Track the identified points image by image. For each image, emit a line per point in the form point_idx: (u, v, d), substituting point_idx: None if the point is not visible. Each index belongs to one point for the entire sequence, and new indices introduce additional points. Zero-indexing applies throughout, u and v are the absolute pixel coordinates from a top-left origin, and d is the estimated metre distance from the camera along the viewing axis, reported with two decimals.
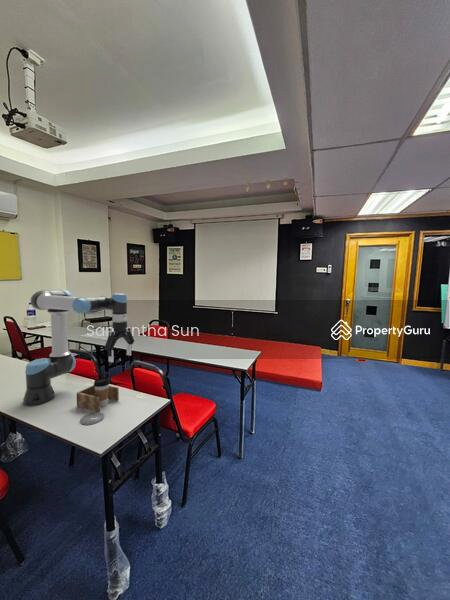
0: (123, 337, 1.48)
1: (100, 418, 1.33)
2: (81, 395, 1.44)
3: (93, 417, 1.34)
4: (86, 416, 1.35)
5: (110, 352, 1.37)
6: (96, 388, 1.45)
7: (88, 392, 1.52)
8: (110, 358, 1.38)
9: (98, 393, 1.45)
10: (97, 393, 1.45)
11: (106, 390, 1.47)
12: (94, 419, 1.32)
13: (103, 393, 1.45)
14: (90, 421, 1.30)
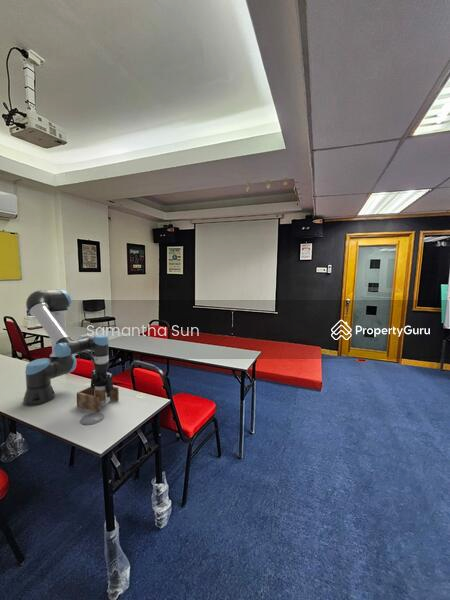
0: None
1: (100, 418, 1.33)
2: (81, 395, 1.44)
3: (93, 417, 1.34)
4: (86, 416, 1.35)
5: (94, 390, 1.49)
6: (96, 388, 1.45)
7: (88, 392, 1.52)
8: None
9: (98, 393, 1.45)
10: (97, 393, 1.45)
11: None
12: (94, 419, 1.32)
13: (103, 393, 1.45)
14: (90, 421, 1.30)
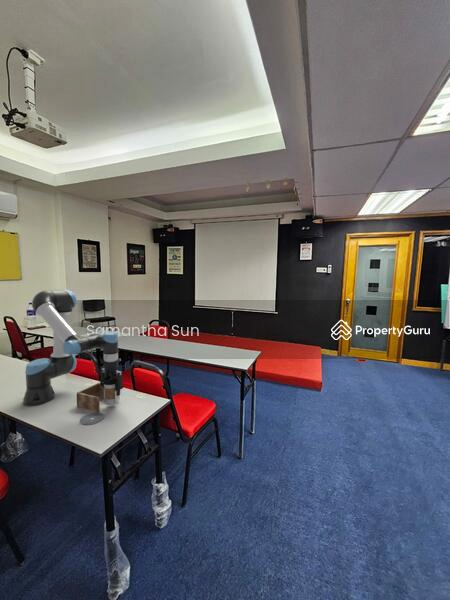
0: (115, 378, 1.45)
1: (100, 418, 1.33)
2: (81, 395, 1.44)
3: (93, 417, 1.34)
4: (86, 416, 1.35)
5: (103, 388, 1.47)
6: (106, 386, 1.42)
7: (88, 392, 1.52)
8: None
9: (107, 391, 1.42)
10: (107, 391, 1.42)
11: None
12: (94, 419, 1.32)
13: (113, 391, 1.43)
14: (90, 421, 1.30)
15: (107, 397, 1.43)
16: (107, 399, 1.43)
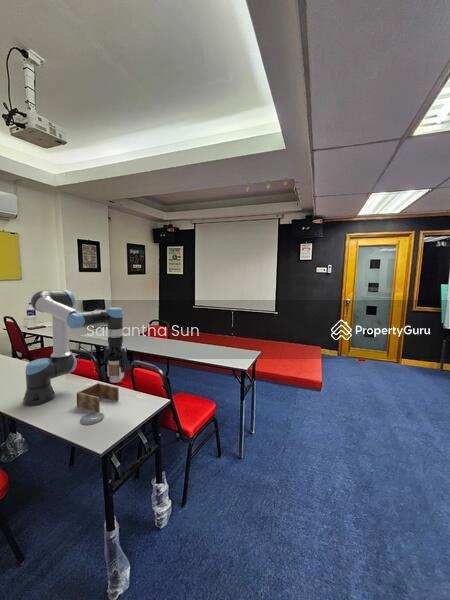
0: None
1: (100, 418, 1.33)
2: (81, 395, 1.44)
3: (93, 417, 1.34)
4: (86, 416, 1.35)
5: (107, 365, 1.43)
6: (110, 363, 1.38)
7: (88, 392, 1.52)
8: None
9: (112, 368, 1.38)
10: (111, 368, 1.38)
11: None
12: (94, 419, 1.32)
13: (117, 368, 1.39)
14: (90, 421, 1.30)
15: (111, 374, 1.39)
16: (111, 376, 1.39)
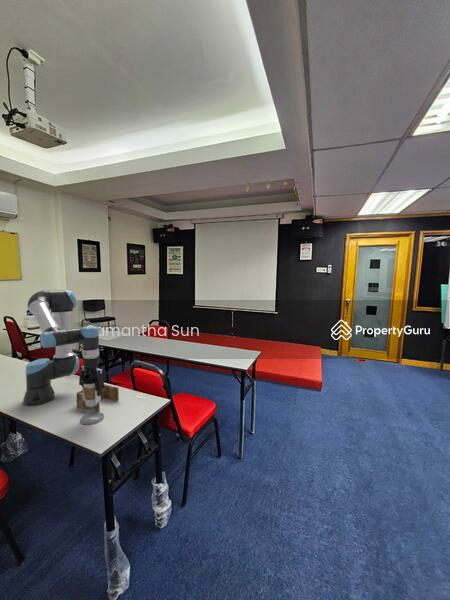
0: None
1: (100, 418, 1.33)
2: (81, 395, 1.44)
3: (93, 417, 1.34)
4: (86, 416, 1.35)
5: None
6: (85, 386, 1.29)
7: None
8: None
9: (87, 391, 1.29)
10: (86, 391, 1.29)
11: None
12: (94, 419, 1.32)
13: (93, 391, 1.29)
14: (90, 421, 1.30)
15: (86, 397, 1.29)
16: (86, 400, 1.30)
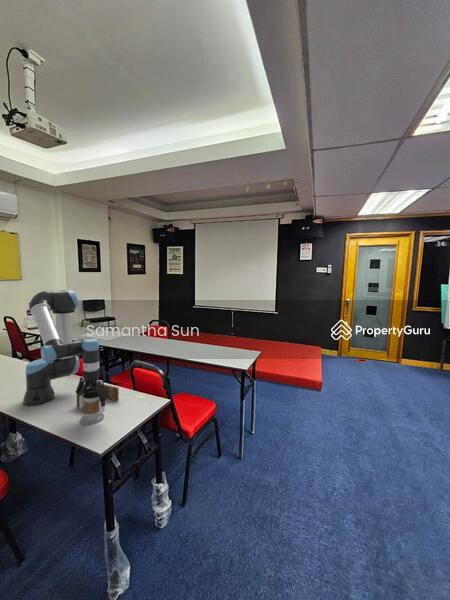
0: None
1: (100, 418, 1.33)
2: None
3: None
4: None
5: None
6: (85, 400, 1.29)
7: None
8: None
9: (87, 406, 1.29)
10: (87, 406, 1.29)
11: (97, 402, 1.31)
12: None
13: (93, 405, 1.30)
14: (90, 421, 1.30)
15: (87, 412, 1.30)
16: (87, 414, 1.30)
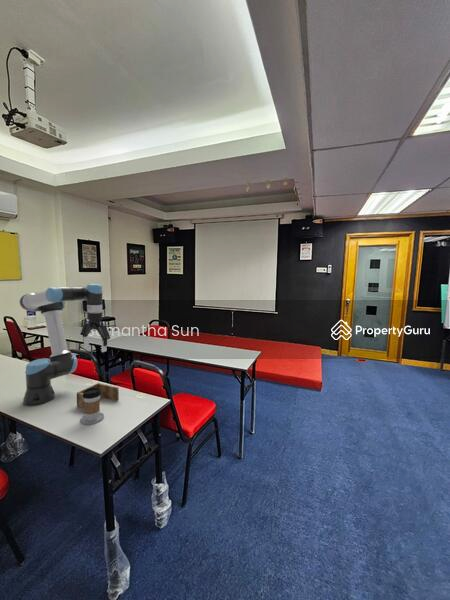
0: None
1: (100, 418, 1.33)
2: (81, 395, 1.44)
3: None
4: None
5: None
6: (85, 400, 1.29)
7: None
8: None
9: (87, 406, 1.29)
10: (86, 406, 1.29)
11: (97, 402, 1.31)
12: None
13: (93, 406, 1.30)
14: (90, 421, 1.30)
15: (87, 412, 1.30)
16: (87, 414, 1.30)
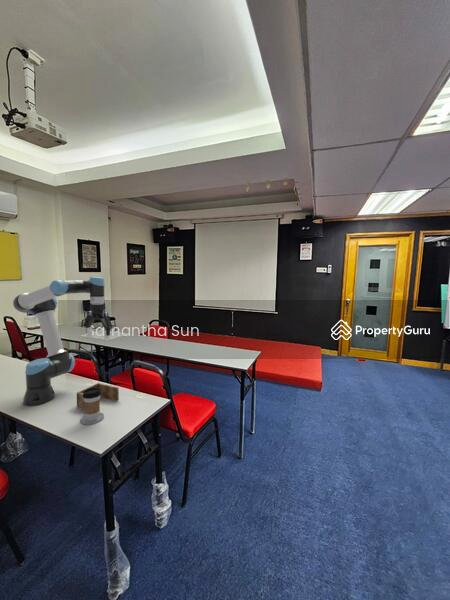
0: None
1: (100, 418, 1.33)
2: (81, 395, 1.44)
3: None
4: None
5: None
6: (85, 400, 1.29)
7: None
8: None
9: (87, 406, 1.29)
10: (86, 406, 1.29)
11: (97, 402, 1.31)
12: None
13: (93, 406, 1.30)
14: (90, 421, 1.30)
15: (87, 412, 1.30)
16: (87, 414, 1.30)
